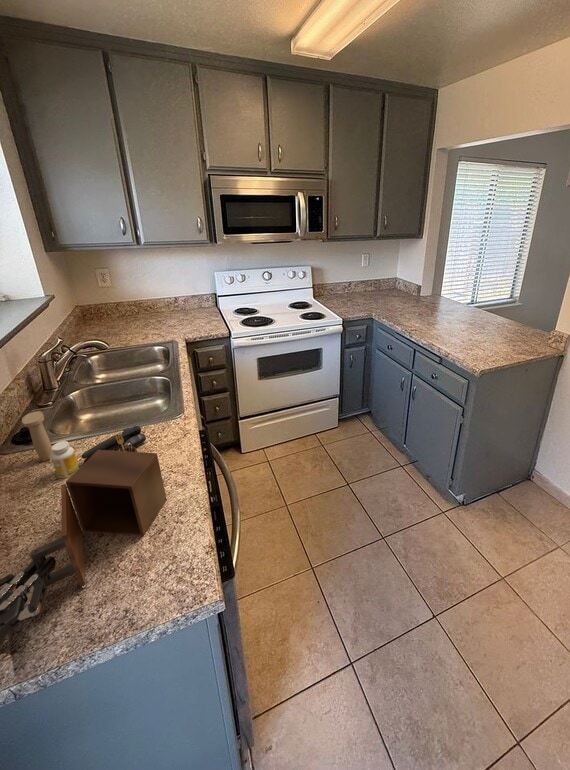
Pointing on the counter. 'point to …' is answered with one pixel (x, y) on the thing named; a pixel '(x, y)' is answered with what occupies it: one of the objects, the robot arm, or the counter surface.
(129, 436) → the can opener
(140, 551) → the counter surface
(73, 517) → the cupboard door
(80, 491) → the cupboard
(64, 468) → the supplement bottle
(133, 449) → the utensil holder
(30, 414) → the handle
